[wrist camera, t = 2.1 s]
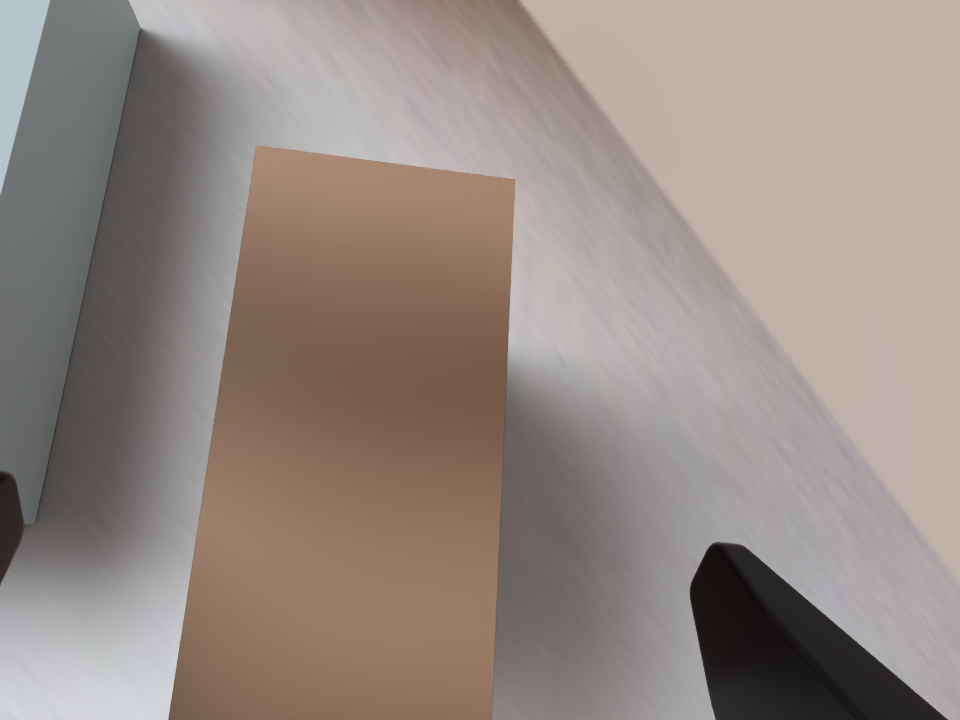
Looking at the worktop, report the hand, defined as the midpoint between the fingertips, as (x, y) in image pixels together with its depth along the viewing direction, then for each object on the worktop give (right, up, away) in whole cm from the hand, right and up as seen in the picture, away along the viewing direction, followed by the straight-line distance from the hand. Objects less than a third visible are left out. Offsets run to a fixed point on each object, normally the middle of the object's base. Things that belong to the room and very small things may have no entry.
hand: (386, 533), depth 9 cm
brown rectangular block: (-2, -1, +9) cm, 9 cm away
